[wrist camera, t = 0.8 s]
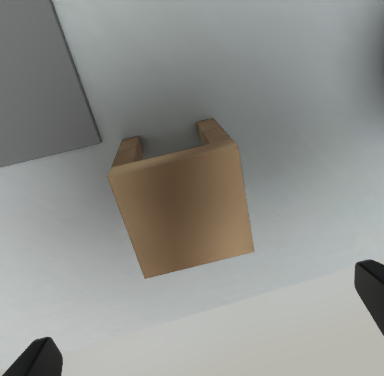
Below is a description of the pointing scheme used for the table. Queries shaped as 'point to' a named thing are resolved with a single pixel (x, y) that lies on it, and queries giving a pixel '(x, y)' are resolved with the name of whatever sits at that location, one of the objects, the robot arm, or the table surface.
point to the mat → (39, 86)
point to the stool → (183, 202)
